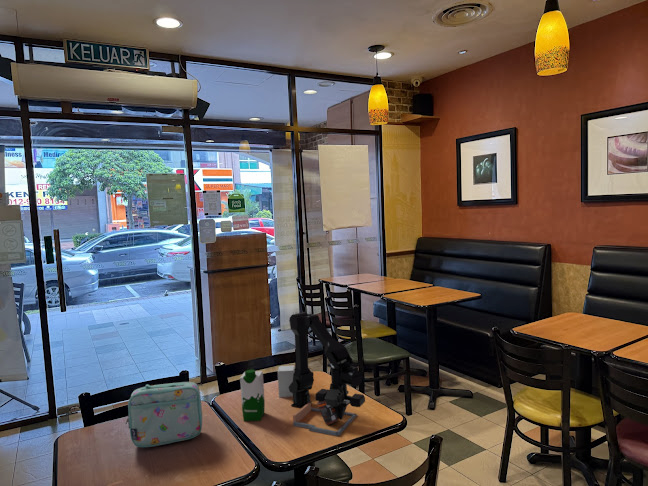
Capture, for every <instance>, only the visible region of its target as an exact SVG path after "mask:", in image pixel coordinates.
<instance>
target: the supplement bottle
mask: <svg viewBox="0 0 648 486" xmlns="http://www.w3.org/2000/svg"><path fill="white" fill-rule="evenodd" d="M317 406H318V409H320V412H319V413H320V414H321V417H322V420H323V422H324V424H325V425H327V426H328V425H332V424H335V423H337V422H338V421H339V420H340V419H339V417H338V415H337V412H336V410H335V408H334V407H333V406H331V405H329V406H328V405H326V401H325V397H324V400H323V401H317Z"/></svg>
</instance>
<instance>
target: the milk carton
mask: <svg viewBox="0 0 648 486" xmlns="http://www.w3.org/2000/svg"><path fill="white" fill-rule="evenodd" d="M239 382H240V394H241V395H240V396H241V397H240V398H241V411H242V419H243V421H244V422H260V421H262V419H263V416H265V415H264V414H265V402H266V401H265V388H264V387H265V385H264V373H263V370H255V369H252V368H251V369H247V370H245V371H244V372H243V373H242V375H241V376H240V377H239Z"/></svg>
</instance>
